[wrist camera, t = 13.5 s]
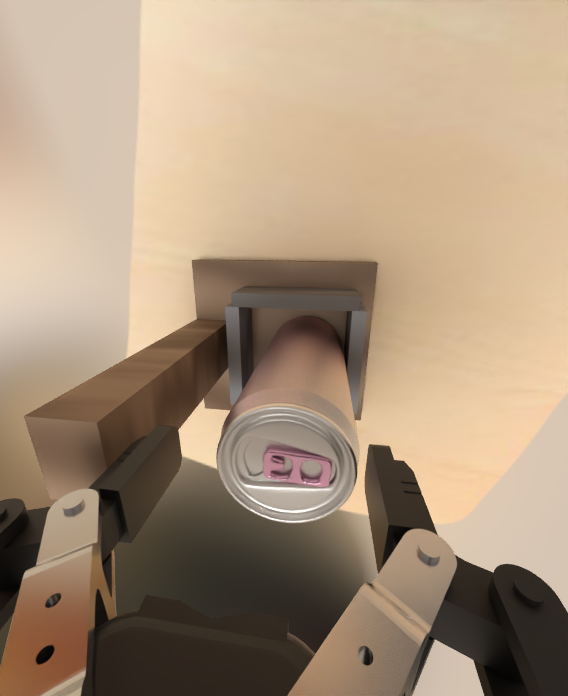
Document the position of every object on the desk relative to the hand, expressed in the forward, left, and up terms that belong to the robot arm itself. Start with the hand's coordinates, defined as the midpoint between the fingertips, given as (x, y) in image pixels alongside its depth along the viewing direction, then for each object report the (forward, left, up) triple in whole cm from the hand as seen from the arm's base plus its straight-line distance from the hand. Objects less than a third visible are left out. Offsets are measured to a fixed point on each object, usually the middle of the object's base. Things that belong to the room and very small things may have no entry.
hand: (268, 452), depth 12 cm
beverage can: (0, +1, -14) cm, 15 cm away
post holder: (0, -2, -16) cm, 16 cm away
